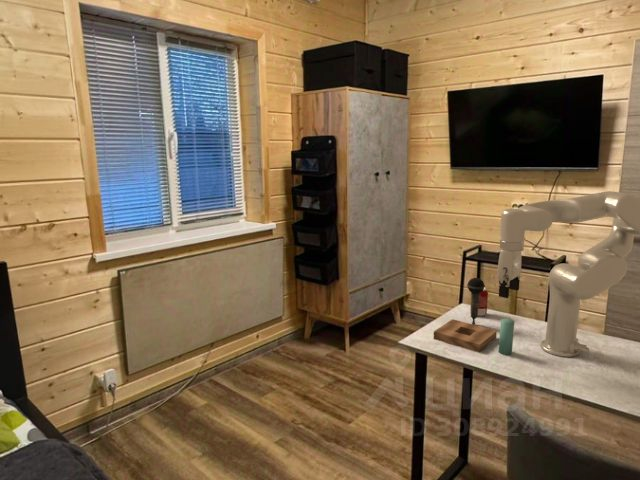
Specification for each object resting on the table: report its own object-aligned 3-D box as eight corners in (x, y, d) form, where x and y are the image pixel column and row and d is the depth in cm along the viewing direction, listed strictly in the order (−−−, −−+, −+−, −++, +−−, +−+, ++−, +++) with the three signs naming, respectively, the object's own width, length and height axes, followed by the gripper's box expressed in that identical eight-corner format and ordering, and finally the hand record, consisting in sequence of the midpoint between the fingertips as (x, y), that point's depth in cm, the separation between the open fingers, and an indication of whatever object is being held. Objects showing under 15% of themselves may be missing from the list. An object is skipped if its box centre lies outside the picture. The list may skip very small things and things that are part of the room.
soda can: (487, 318, 194) (489, 291, 191) (471, 317, 195) (472, 290, 192) (485, 312, 200) (487, 286, 198) (469, 311, 201) (470, 285, 199)
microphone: (463, 321, 191) (466, 275, 186) (480, 321, 190) (483, 275, 185) (466, 327, 184) (469, 280, 180) (483, 328, 183) (487, 280, 179)
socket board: (496, 338, 174) (496, 330, 173) (479, 352, 162) (479, 344, 162) (452, 326, 186) (452, 319, 185) (433, 338, 174) (433, 331, 173)
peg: (513, 352, 162) (516, 320, 160) (509, 356, 159) (511, 324, 156) (501, 348, 165) (503, 317, 163) (496, 352, 162) (499, 321, 159)
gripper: (509, 239, 163) (507, 285, 166) (490, 249, 150) (488, 298, 154) (531, 242, 158) (528, 289, 161) (513, 252, 145) (510, 302, 149)
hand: (508, 293), depth 157 cm, fingers open, 9 cm apart
